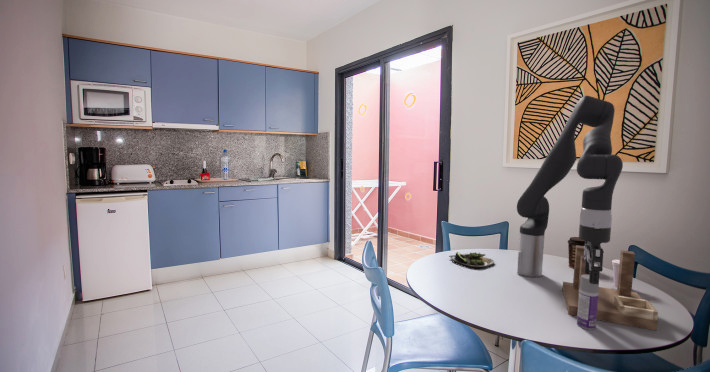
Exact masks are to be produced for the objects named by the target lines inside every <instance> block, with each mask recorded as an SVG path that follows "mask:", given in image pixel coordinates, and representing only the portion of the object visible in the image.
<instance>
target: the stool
mask: <svg viewBox="0 0 710 372" xmlns="http://www.w3.org/2000/svg"><path fill="white" fill-rule="evenodd" d="M619 253H620V256H619V260H620V264H619V275H618V287H616V288H617V289H616V288H615V289H614V288H609V287H602V286H601V287H600V286H599V291H598V305H597V316H596V321H604V322H609V323H614V324H620V325H624V326H625V325H626V326H630V327H637V328H641V329H646V330H652V331H655V332H656V331H657V330H658V317H659V316H658V315H659V311H657V309H656V307H654V305H653V304H652V303H651V301H650V300H648V299H643V298H642V297H641V296H640V295H639V294H638V292H636V291H635V292H634V291H632V290H633V280H634V278H633V277H634V268H635V267H634V266H635V259H636V258H635V257H636V254H635V252H634V251H633V250H631V251H629V250H622V249H621V250H620V252H619ZM584 258H585V257H584V246H577V245H576V252H575V265H574V268H573V279H572V280H573V282H568V281H562V288H561V289H562V293H563V298H564V302H565V305H566V310H567V315H570V316H575V317H577V314H578V301H579V289H580V280H581V275H590V274H586V273H585V260H584Z"/></svg>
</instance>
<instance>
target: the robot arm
mask: <svg viewBox="0 0 710 372" xmlns="http://www.w3.org/2000/svg"><path fill="white" fill-rule="evenodd" d="M614 118H615V105H614V103H612V102H610V101H607V100H604V99H601V98H597V97H595V96H591V95H584V96H581V98H580V99H579V100H578V101H577V102H576V104H575V106H574V108H573V110H572V111H571V113H570V115H569V117H568V119H567V121H566V124H565V125H564V128H563V129H562V131H561V133H560V135H559V136H558V138H557V140H556V142H555V143H554V145H553V146H552V148H551V149H550V151H549V152H548V154H547V156H546V158H544V161H543V162H542V164H541V166H540V168H539V169H538V171H537V172H536V174H535V176H534V178H533V180H532V181H531V182H530V184H529V185H528V186H527V188H526V189H525V191H524V192H523V193H522V194H521V195H520V197H519V199H518V201H517V203H516V211H517V214H518V215H519V216H520V217H522V218H525V219H526V220H525V222H524V223H522V224H521V225H520V227H519V239H518V240H519V242H518V257H517V269H516V270H517V273H516V274H519V275H522V276H524V277H525V276H526V277H530V278H531V277H532V278H539V277H542V275H543V267H544V266H543V262H544V248H545V247H544V246H545V233H546V229H547V228H548V225H549V224H548V222H549V215H550V203H549V200H548V199H547V198H546V196H545V195H546V194H547V193H548V192H549V191H550V190H551V189H552V188H554V187H555V186H556V185H558V184H559V183H560V182H562V180H563V179H565V178H566V177H567V175H568V174H569V173H570V171H571V170H572V168H573V166H574V165H575V163H576V160H577V151H576V150H577V149H576V143H575V142H576V141H575V138H576V137H575V136H576V131H577V128H578V126H579V124H582V125H584V126H587V127H591V128H592V129H590V130H589V131H588V132H587V133H586V134H585V136H584V138H583V141H582V142H583V143H582V146H583V152H582V154H581V155H580V157H579V159H578V161H577V164H576V173H577V174H578V176H579V177H581V178H582V179H586V180H604V182H603V183H602V184H600V185H598V186H592V187H586V188H584V189H583V191H582V194H581V195H582V197H581V209H580V214H579V227H578V237H579V238H580V239H581V240H584V241H585V246H584V257H585V258H584V260H585V273H586V274H590V276H589V282H590V283H591V284H599V285H600V272H603V263H604V249H603V248H602V246H601V244H607V243H609V242H611V233H612V218H613V217H612V204H613V194H614V191H615V188H616V184H617V183H618V182H617V181H618V180H619V178H620V175H621V173H622V171H623V168H624V167H623V159H622V158H621V157H620V156H619V155H617V154H613V147H612V146H613V145H612V137H611V136H612V134H611V133H612V128H613V123H614ZM595 264H596V265H597V266H595Z"/></svg>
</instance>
